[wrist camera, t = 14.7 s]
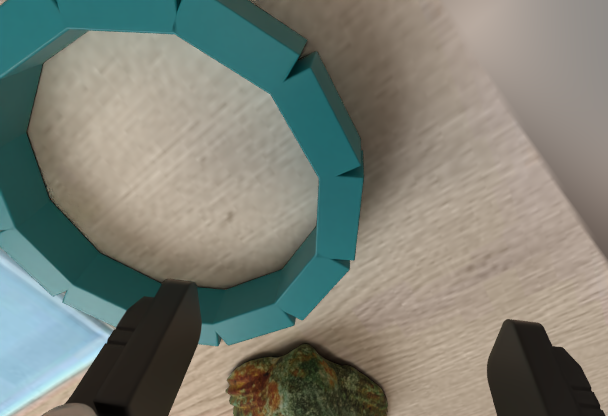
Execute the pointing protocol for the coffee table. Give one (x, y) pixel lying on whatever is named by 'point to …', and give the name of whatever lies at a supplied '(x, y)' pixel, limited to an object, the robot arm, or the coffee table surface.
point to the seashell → (303, 387)
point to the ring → (239, 58)
